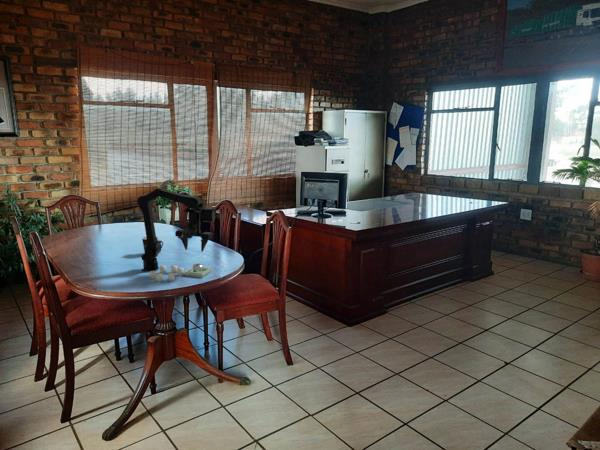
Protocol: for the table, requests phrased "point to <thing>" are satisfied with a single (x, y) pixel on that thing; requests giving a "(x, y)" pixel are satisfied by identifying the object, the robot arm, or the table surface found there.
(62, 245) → the table surface
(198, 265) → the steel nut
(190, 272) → the parts tray
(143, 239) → the coffee mug
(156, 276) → the nylon spacers
